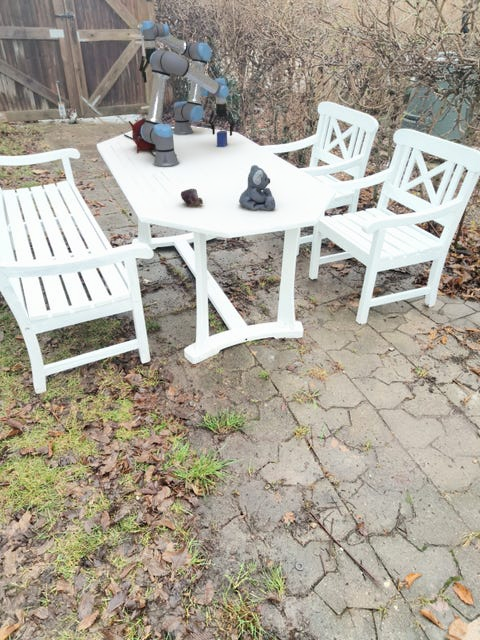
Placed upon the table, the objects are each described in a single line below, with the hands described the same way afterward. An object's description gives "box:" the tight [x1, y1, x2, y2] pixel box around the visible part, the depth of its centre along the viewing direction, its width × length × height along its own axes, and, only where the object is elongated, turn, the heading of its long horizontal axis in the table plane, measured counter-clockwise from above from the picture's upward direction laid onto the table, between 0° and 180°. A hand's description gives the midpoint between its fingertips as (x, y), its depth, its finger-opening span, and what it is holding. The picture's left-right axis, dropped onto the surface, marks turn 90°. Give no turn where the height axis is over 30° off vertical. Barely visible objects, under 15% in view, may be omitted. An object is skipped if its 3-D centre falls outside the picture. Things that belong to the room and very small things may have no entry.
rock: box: [180, 188, 204, 207], centre depth 229 cm, size 12×9×10 cm
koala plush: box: [238, 164, 276, 211], centre depth 224 cm, size 17×18×20 cm
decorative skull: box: [128, 117, 156, 154], centre depth 321 cm, size 21×24×25 cm
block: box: [216, 130, 228, 148], centre depth 331 cm, size 7×5×10 cm
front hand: (222, 134), depth 329 cm, fingers open, 13 cm apart
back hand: (154, 82), depth 319 cm, fingers open, 13 cm apart
